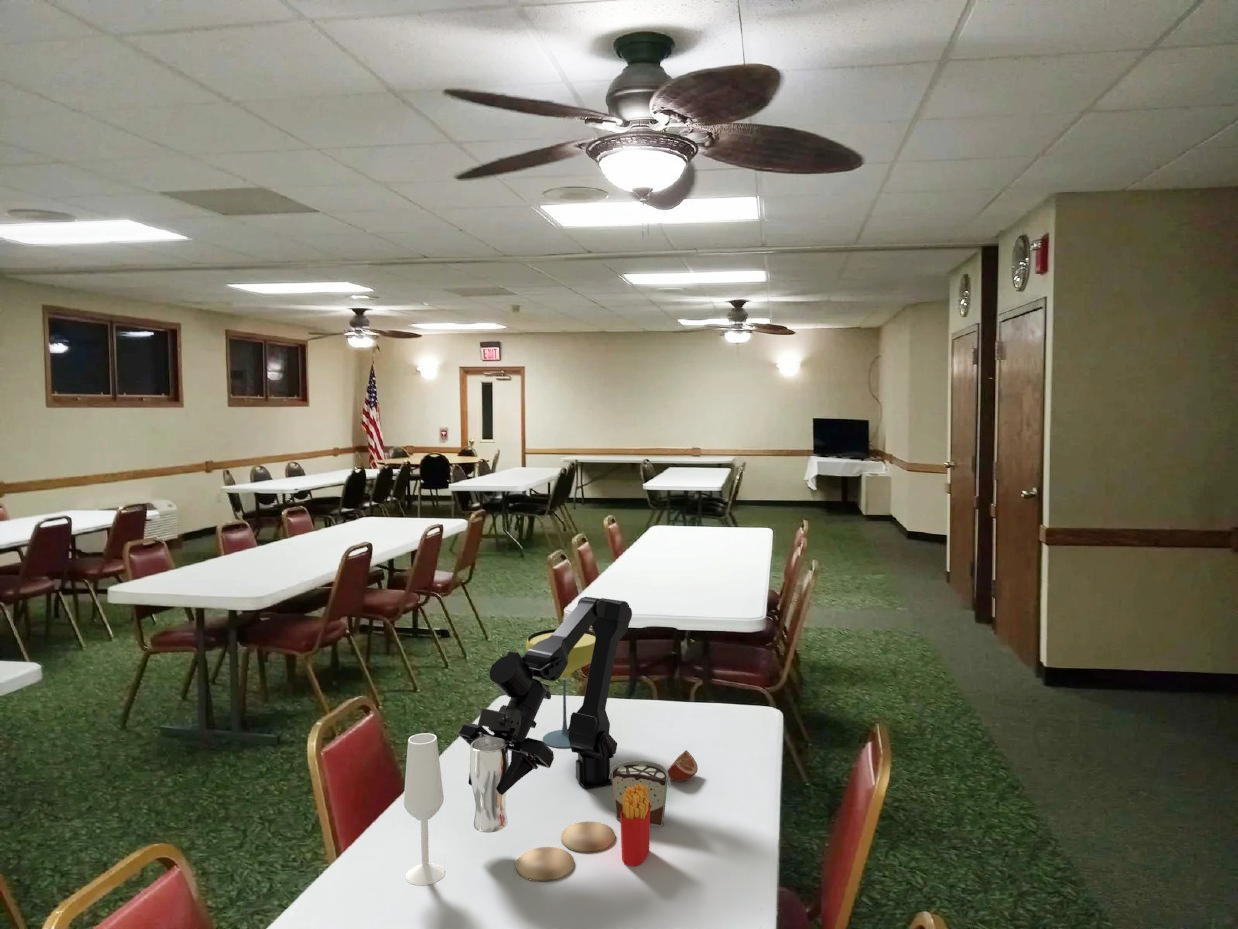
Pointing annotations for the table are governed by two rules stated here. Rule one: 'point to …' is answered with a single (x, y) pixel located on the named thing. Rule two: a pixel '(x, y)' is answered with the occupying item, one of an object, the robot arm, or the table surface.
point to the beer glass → (489, 782)
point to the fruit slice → (683, 767)
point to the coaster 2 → (587, 836)
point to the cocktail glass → (566, 677)
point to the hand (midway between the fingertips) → (485, 789)
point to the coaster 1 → (545, 864)
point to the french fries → (635, 825)
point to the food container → (643, 775)
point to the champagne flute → (423, 799)
